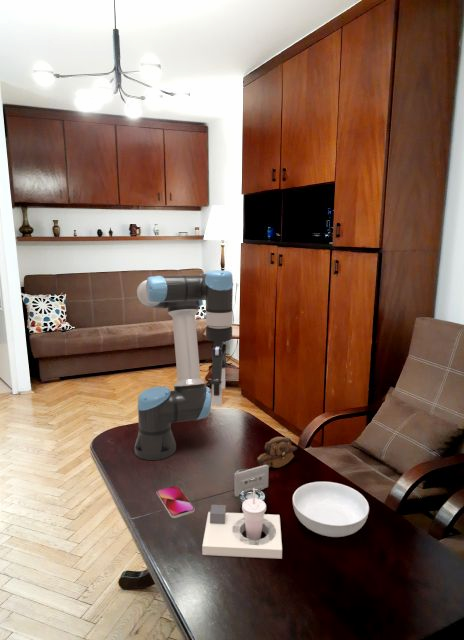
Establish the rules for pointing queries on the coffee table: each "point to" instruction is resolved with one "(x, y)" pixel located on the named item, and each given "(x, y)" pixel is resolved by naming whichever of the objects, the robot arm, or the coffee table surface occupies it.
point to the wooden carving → (277, 452)
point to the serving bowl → (330, 508)
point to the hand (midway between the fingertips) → (218, 396)
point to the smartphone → (175, 501)
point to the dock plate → (240, 535)
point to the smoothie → (253, 516)
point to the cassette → (258, 482)
